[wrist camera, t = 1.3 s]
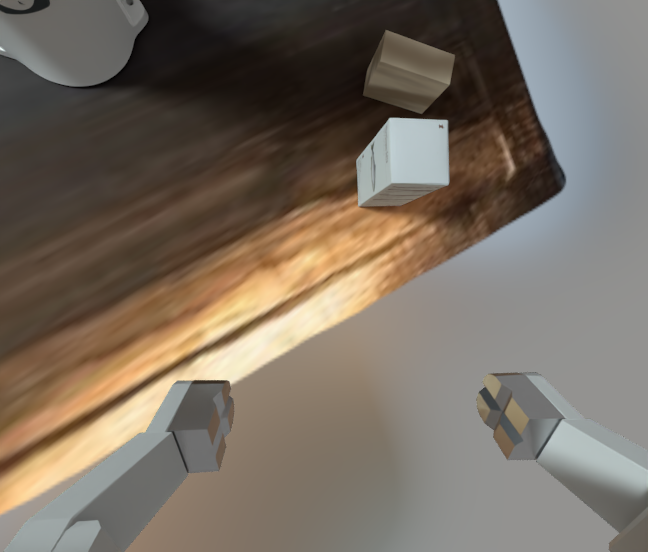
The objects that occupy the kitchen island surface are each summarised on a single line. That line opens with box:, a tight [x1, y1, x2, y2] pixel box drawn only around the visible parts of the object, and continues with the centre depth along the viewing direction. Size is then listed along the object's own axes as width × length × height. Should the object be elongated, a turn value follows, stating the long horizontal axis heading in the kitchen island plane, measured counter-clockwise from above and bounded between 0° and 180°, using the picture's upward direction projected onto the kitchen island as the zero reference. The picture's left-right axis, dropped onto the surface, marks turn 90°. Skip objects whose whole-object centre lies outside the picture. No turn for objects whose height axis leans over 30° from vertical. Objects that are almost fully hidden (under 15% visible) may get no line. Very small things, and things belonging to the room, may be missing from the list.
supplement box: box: [356, 118, 449, 207], centre depth 36 cm, size 7×7×13 cm
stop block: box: [363, 30, 455, 114], centre depth 38 cm, size 4×10×7 cm, turn 80°
